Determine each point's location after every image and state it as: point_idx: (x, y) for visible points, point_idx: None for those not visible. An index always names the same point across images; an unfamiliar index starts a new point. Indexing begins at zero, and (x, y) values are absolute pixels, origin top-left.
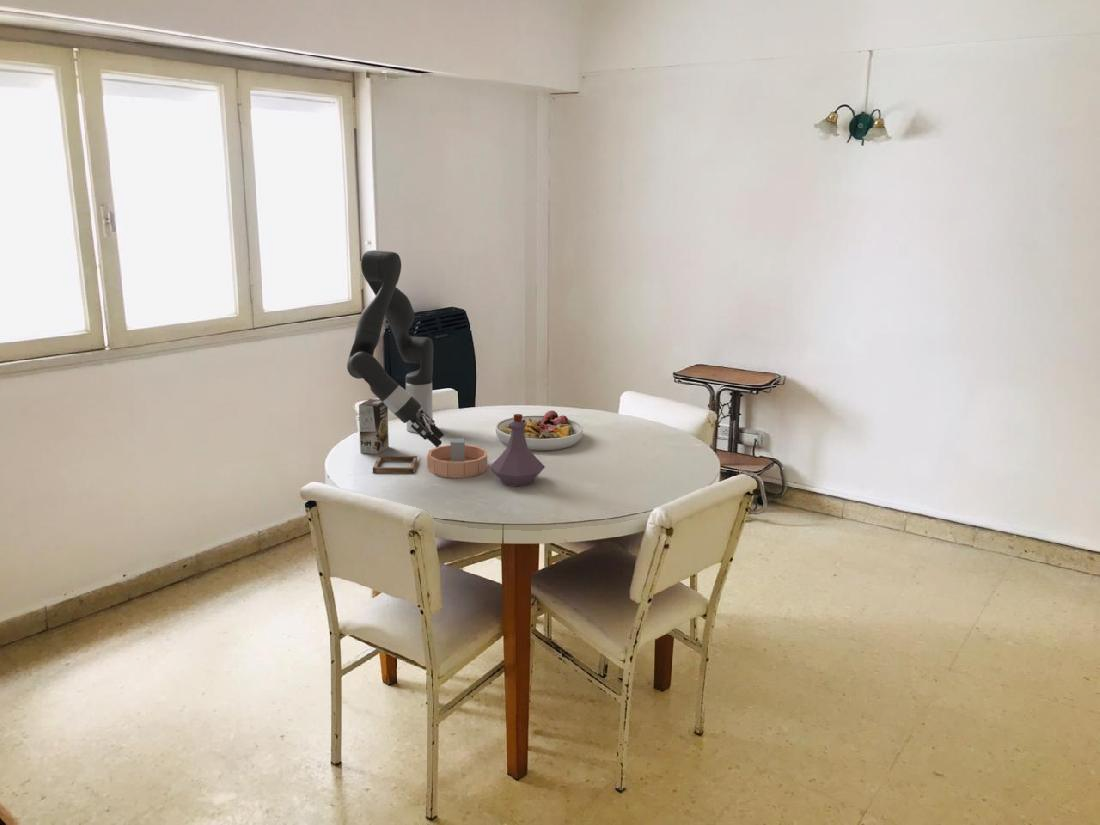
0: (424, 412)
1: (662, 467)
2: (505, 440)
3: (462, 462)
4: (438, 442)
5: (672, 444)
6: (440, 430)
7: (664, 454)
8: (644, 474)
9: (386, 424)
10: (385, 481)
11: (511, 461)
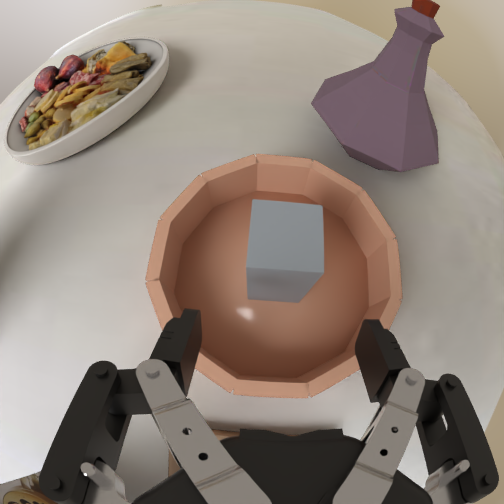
0: (56, 455)
1: (273, 14)
2: (95, 135)
3: (395, 244)
4: (391, 335)
5: (183, 9)
6: (178, 326)
7: (220, 11)
8: (302, 25)
9: (12, 495)
10: None
11: (429, 115)
